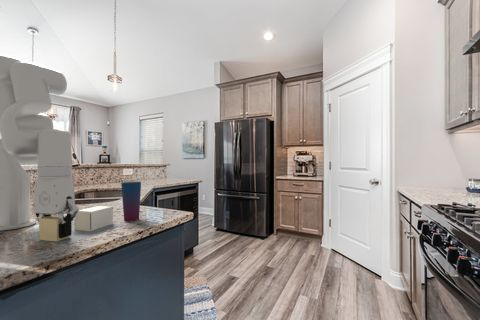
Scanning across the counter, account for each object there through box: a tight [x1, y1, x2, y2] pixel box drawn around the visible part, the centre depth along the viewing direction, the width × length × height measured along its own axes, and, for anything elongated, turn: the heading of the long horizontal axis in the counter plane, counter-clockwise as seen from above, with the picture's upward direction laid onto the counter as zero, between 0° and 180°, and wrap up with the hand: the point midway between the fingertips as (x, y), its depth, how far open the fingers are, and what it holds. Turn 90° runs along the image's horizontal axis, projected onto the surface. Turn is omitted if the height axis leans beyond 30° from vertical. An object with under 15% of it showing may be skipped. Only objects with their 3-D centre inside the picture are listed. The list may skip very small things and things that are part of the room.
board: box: [25, 222, 125, 245], centre depth 71 cm, size 16×20×1 cm
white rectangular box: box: [73, 205, 114, 231], centre depth 76 cm, size 6×9×6 cm
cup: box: [120, 180, 142, 223], centre depth 85 cm, size 7×7×15 cm
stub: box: [38, 214, 71, 242], centre depth 64 cm, size 6×4×6 cm, turn 75°
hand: (55, 235), depth 64 cm, fingers closed on stub, 6 cm apart
